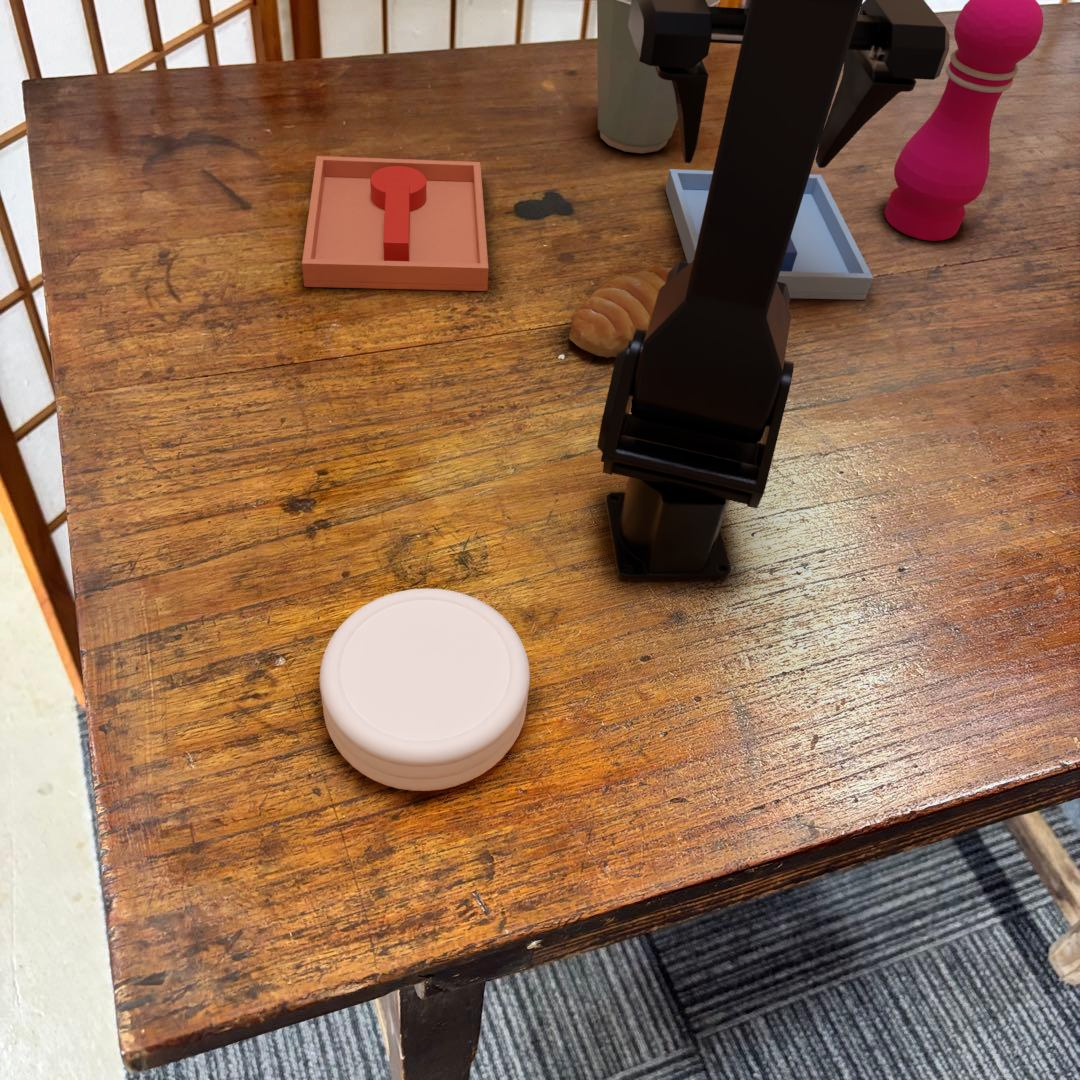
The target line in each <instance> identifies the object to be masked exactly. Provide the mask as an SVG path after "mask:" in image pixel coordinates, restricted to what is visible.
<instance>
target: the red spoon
mask: <svg viewBox="0 0 1080 1080" xmlns="http://www.w3.org/2000/svg"><path fill="white" fill-rule="evenodd" d="M370 186H371V199H372V201H373V203H374V204H375V205H376V206H377V207H379V208H381V209H383V210H385V217H384V239H383V246H384V261H409V246H410V211H413V210H416V209H418V208H420V207H422V206H423V205H424V204H425V202H426V198H427V188H426V178H425V176H424V175H423V174H422V173H421V172H420V171H418V170H416V169H413V168H410V167H405V166H389V167H384V168H381V169H379V170H377V171H375V172H374V173H373V174H372V176H371V178H370Z"/></svg>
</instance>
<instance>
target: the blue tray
mask: <svg viewBox="0 0 1080 1080" xmlns="http://www.w3.org/2000/svg"><path fill="white" fill-rule="evenodd" d="M712 175H713V170H703V169H680V168H679V169H675V168H669V170H668V175H667V181H666V186H665V193H666V196H667V200H668V204H669V206H670V210H671V213H672V216H673V220H674V224H675V226H676V230H677V234H678V236H679V240H680V243H681V246H682V250H683V252H684V256H685V259H686V263H691V262H692V261H693V260H694V256H695V252H696V247H697V243H698V238H699V234H700V229H701V224H702V220H703V215H704V211H705V206H706V202H707V197H708V193H709V188H710V184H711V179H712ZM791 239H792V241H793V244H794V246H795V248H796V250H797V256H796V259H795V262H794V266H793V269H792V272H787V271H780V274H779V277H778V280H777V282H782V283H786V285H787V288H788V292H789V296H790V299H807V300H808V299H810V300H811V299H812V300H814V299H815V300H819V299H820V300H821V299H822V300H849V301H850V300H852V301H853V300H856V301H857V300H858V301H865V300H866V299H867V297H868V293H869V291H870V288H871V286H872V283H873V280H874V277H873V274H872V272H871V270H870V268H869V266H868V264H867V262H866V260H865V259H864V256H863V255H862V252H861V250H860V248H859V246H858V244H857V243H856V241H855V238H854V237H853V235H852V233H851V231H850V229H849V226H848V225H847V223H846V220H845V218H844V216H843V215H842V213H841V211H840V209H839V207H838V204H837V203H836V200H835V199H834V197H833V195H832V193H831V191H830V189H829V187H828V186H827V183H826V181H825V179H824V178H823V175H822V174H814V173H813V174H812V173H810V175H809V179H808V182H807V185H806V188H805V192H804V195H803V198H802V202H801V205H800V208H799V211H798V215H797V218H796V221H795V224H794V228H793V231H792V234H791Z"/></svg>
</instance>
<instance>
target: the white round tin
mask: <svg viewBox="0 0 1080 1080" xmlns="http://www.w3.org/2000/svg"><path fill="white" fill-rule="evenodd" d="M530 670H531V669H530V662H529V658H528V654H527V652H526V649H525V646H524V644H523V642H522V640H521V638H520V636H519V634H518V633H517V631H516V630H515V628H514V627H513V626H512V624H511V623H510V622H509V621H508V620H507V619H506V618H505V616H504V615H502V614H501V613H500V612H499V611H497V610H496V609H495V608H493V607H491V605H489V604H488V603H486V602H484V601H482V600H480V599H478V598H476V597H474V596H471V595H468V594H465V593H462V592H459V591H455V590H449V589H443V588H430V587H429V588H427V587H426V588H425V587H423V588H411V589H405V590H400V591H396V592H393V593H389V594H385V595H383V596H381V597H378V598H376V599H374V600H372V601H369V602H368V603H366V604H365V605H362V606H361V607H360V608H358V609H357V610H356V611H354V612H353V613H352V614H351V615H349V616H348V617H347V618H346V619H345V620H344V621H343V622H342V623H341V624H340V625H339V627H337V629H336V630H335V631H334V633H333V635H332V636H331V638H330V640H329V641H328V644H327V646H326V648H325V650H324V653H323V655H322V659H321V662H320V666H319V677H318V679H319V682H318V683H319V691H320V692H319V693H320V696H321V705H322V710H323V719H324V723H325V727H326V729H327V733H328V735H329V737H330V739H331V741H332V743H333V744H334V746H335V748H336V749H337V750H338V752H339V753H340V754H341V756H342V757H343V758H344V759H345V761H347V762H348V763H349V764H350V765H351V767H353V768H354V769H355V770H357V771H358V772H359V773H361V774H362V775H363V776H365V777H367V778H369V779H371V780H372V781H374V782H377V783H379V784H382V785H384V786H387V787H390V788H395V789H397V790H403V791H404V790H406V791H410V792H411V791H412V792H431V791H439V790H440V791H441V790H445V789H449V788H453V787H457V786H460V785H462V784H465V783H468V782H470V781H472V780H473V779H476V778H478V777H480V776H482V775H483V774H485V773H486V772H488V771H489V770H490V769H492V768H493V767H494V766H496V765H497V764H498V763H499V762H501V760H502V759H503V758H504V757H505V755H506V754H508V752H509V751H510V749H511V748H512V747H513V745H514V744H515V742H516V741H517V739H518V737H519V736H520V734H521V732H522V728H523V726H524V723H525V719H526V716H527V705H528V701H529V691H530V683H531V671H530Z"/></svg>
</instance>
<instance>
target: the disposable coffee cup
mask: <svg viewBox="0 0 1080 1080" xmlns="http://www.w3.org/2000/svg"><path fill="white" fill-rule="evenodd" d="M706 2H707V5H708V6H712V7H717V5H718V4H719V3H720V2H721V0H706ZM630 7H631V0H596V21H597V22H596V27H597V28H596V29H597V30H596V31H597V32H596V34H597V35H596V38H597V39H596V41H597V43H596V45H597V47H596V48H597V49H596V50H597V52H596V53H597V57H596V58H597V130H598V131H599V138H600V139H601V140H602V141H603V142H605V144H606V145H608V146H610V147H612V148H615V149H617V150H620V151H623V152H628V153H635V154H647V153H655V152H658V151H660V150H661V149H662V148H664V147H666V146H667V144H668V141H669V140H670V139H671V138H672V136H673V133H674V130H675V127H676V124H677V122H678V114H677V106H676V99H675V92H674V88H673V84H672V81H671V80H664V79H662V78H660V77H659V76H658V74H657V71H656V68H655V66H649V65H647V64H644V63H642V62H640V61H639V58H638V55H637V52H636V49H635V46H634V43H633V40H632V37H631V34H630V31H629V28H628V22H629V14H630Z"/></svg>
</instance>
